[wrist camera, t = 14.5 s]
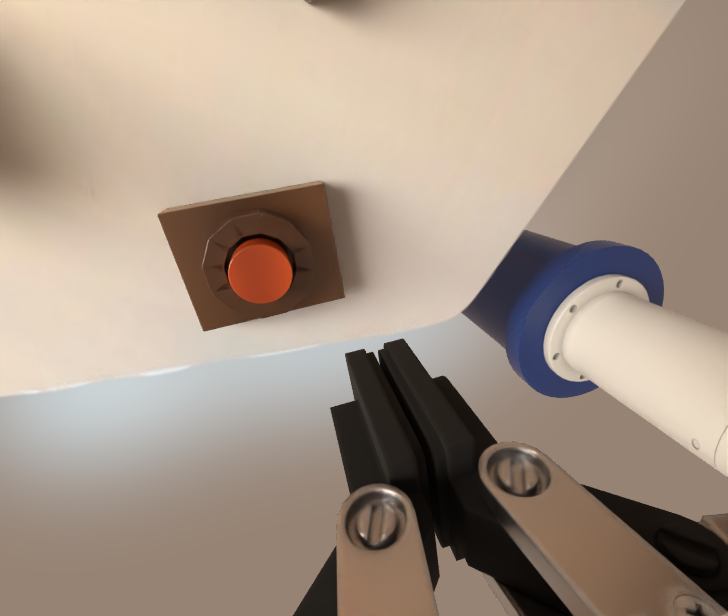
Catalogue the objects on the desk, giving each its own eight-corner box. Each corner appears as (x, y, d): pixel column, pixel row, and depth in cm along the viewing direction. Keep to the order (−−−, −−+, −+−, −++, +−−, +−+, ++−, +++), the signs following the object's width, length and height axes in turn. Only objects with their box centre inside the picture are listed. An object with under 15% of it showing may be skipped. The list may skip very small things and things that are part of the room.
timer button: (283, 232, 22) (284, 238, 20) (296, 286, 23) (298, 296, 22) (222, 244, 21) (218, 252, 20) (240, 299, 23) (238, 310, 21)
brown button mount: (319, 180, 25) (328, 185, 21) (339, 287, 28) (350, 307, 24) (165, 208, 23) (147, 219, 19) (207, 318, 26) (199, 344, 23)
